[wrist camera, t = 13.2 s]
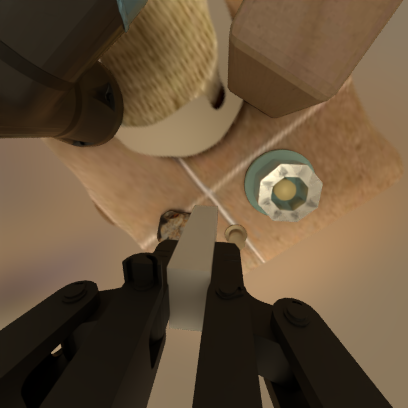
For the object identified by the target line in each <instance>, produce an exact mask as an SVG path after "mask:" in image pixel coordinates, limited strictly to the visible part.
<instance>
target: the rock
mask: <svg viewBox="0 0 408 408" xmlns="http://www.w3.org/2000/svg"><path fill="white" fill-rule="evenodd" d="M190 215H191V214H186V213H175V212H173V211H169V212H167V213H166V214H164V215H162V216H161V218H160V222H159V228H158V233H157V239H158V241H159V242H162V241H164V240H165V239H172V240H179V239H180V237H181V235H182V233H183V230H184V228H185V226H186V224H187V221H188V219H189V217H190Z"/></svg>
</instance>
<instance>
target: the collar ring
mask: <svg viewBox="0 0 408 408" xmlns="http://www.w3.org/2000/svg"><path fill="white" fill-rule="evenodd" d="M284 177H294V178H295V179H296V181H295V186H296V194H295V196H294V197H293V198H291V199H290V200H286V201H284V200H280V199H271V194H272V187H273V186H274V185H275V184H276V183H277V182H279V181H280V180H281V179H282V178H284ZM322 185H323V183H322V182H321V181H320V180H319V178H318V177H317V176H316V175H315V173H314V172H313V171H312V170H311V169H310V167H309V166H308V165H306V164H304V163H301V162H298V161H296V160H276V159H272V160H271V161H270V162H269V163H267V164H266V165H265V166H264V167H263V168H262V169H260V170H259V171H258V172H257V173H256V174H255V182H254V192H253V194H254V196H255V199H256V201H257V203H258V205H259V206H260V207H261V208H262V209H263V210H264V211H265V212H266V213H267V214H268V216H269V217H270V218H271V219H272V220H273V221H289V222H298V221H299V220H301V219H302V218H303V217H305V216H306V215H308V214H309V213H310V212H312V211H313V210H315V209H316V208H317V207H318V204H319V199H320V194H321V190H322Z"/></svg>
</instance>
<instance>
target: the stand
mask: <svg viewBox="0 0 408 408" xmlns="http://www.w3.org/2000/svg"><path fill="white" fill-rule="evenodd" d="M225 238H226V240H227V241H228V242H229V243H235V244H236V245H237V246H238V248H239V249H240V250H242V249H243V248H244V246H245V240H246V238H247V233H246V230H245V229H244V227H242V226H240V225H232V226H230V227H228V228H227V230H226V232H225Z"/></svg>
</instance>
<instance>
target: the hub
mask: <svg viewBox="0 0 408 408" xmlns="http://www.w3.org/2000/svg"><path fill="white" fill-rule="evenodd" d="M272 159H276V160H296V161H298V162H301V163H304V164H306V165H308V166H309V167H310V169H311V170H312V171H313V172H314V170H313V167H312V165H311V164H310V162H309V161H308V160H307V159H306V158H305V157H304V156H302V155H300V154H298V153H296V152H293V151H289V150H283V149H278V150H272V151H269V152H266V153H264V154H262V155H260V156H259V157H258V158H257V159H255V160H254V161H253V163H252V164H251V165H250V167H249V168H248V170H247V172H246V175H245V181H244V187H245V192H246V195H247V198H248V200H249V202H250V203H251V205H252V206H253V207H254V208H255V209H256V210H258V211H259V212H261V213H263V214H265V215H268V214H267V213H266V212H265V211H264V210H263V209H262V208H261V207H260V206H259V205H258V203H257V201H256V199H255V196H254V194H253V192H254V182H255V174H256V173H257V172H258V171H259V170H260V169H262V168H263V167H264V166H265V165H266V164H267V163H269V162H270V161H271V160H272ZM295 181H296V179H295V178H294V177H284V178H282V179H281V180H280V181H279V182H277V183H276V184H275V185H274V186H273V187H272V194H271V199H280V200H284V201H286V200H290V199H291V198H293V197H294V196H295V194H296V186H295Z"/></svg>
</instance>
